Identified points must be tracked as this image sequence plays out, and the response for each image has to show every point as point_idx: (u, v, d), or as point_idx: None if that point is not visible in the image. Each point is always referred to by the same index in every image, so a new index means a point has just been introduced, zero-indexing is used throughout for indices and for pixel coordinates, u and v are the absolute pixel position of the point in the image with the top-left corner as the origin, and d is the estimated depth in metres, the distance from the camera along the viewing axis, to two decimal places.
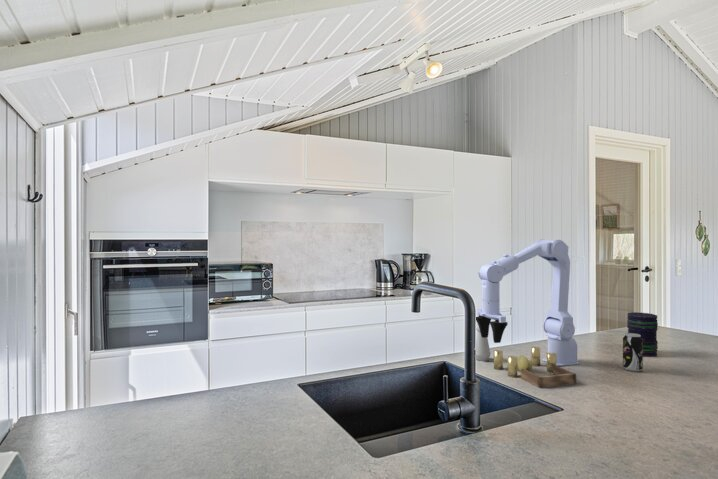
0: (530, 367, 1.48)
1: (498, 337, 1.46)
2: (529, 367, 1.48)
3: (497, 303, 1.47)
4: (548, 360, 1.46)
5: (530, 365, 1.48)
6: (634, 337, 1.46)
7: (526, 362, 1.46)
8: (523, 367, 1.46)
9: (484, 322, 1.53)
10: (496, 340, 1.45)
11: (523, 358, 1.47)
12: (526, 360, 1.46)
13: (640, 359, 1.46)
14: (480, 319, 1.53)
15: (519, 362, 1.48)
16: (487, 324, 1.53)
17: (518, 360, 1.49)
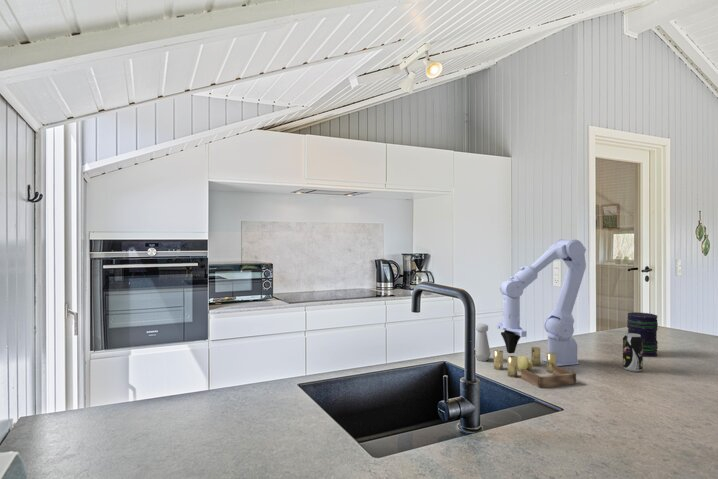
0: (530, 367, 1.48)
1: (513, 347, 1.55)
2: (529, 367, 1.48)
3: (517, 318, 1.53)
4: (548, 360, 1.46)
5: (530, 365, 1.48)
6: (634, 337, 1.46)
7: (526, 362, 1.46)
8: (523, 367, 1.46)
9: None
10: (510, 351, 1.55)
11: (523, 358, 1.47)
12: (526, 360, 1.46)
13: (640, 359, 1.46)
14: None
15: (519, 362, 1.48)
16: None
17: (518, 360, 1.49)
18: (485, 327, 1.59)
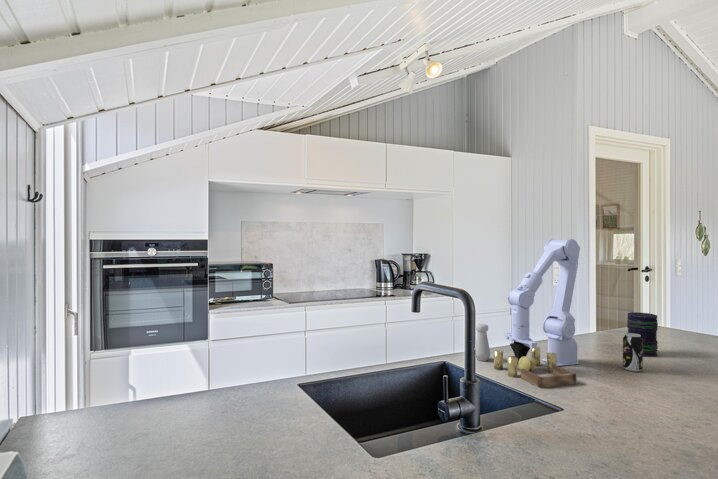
0: (532, 368, 1.47)
1: None
2: (531, 368, 1.47)
3: (527, 328, 1.48)
4: (548, 360, 1.46)
5: (532, 366, 1.47)
6: (634, 337, 1.46)
7: (529, 363, 1.45)
8: (526, 368, 1.45)
9: None
10: None
11: (525, 359, 1.46)
12: (529, 361, 1.45)
13: (640, 359, 1.46)
14: None
15: (521, 362, 1.47)
16: None
17: (520, 361, 1.47)
18: (485, 327, 1.59)
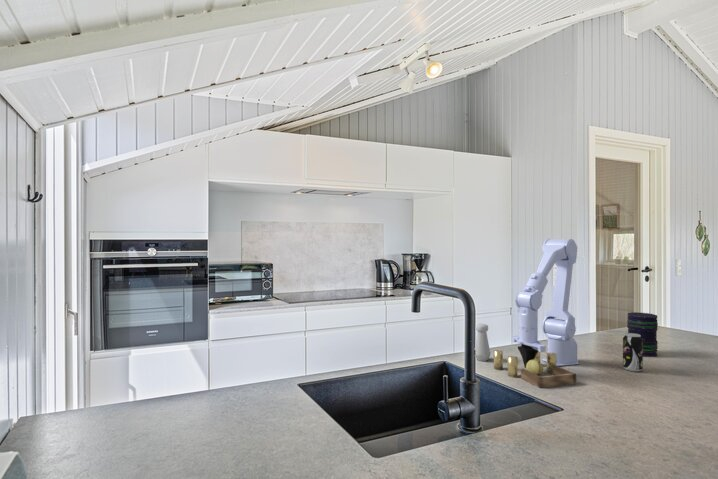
0: (541, 371, 1.43)
1: None
2: (540, 371, 1.43)
3: (535, 331, 1.44)
4: (548, 360, 1.46)
5: (541, 369, 1.43)
6: (634, 337, 1.46)
7: (537, 366, 1.41)
8: (534, 372, 1.41)
9: None
10: None
11: (534, 362, 1.42)
12: (537, 364, 1.41)
13: (640, 359, 1.46)
14: None
15: (529, 366, 1.43)
16: None
17: (528, 364, 1.43)
18: (485, 327, 1.59)
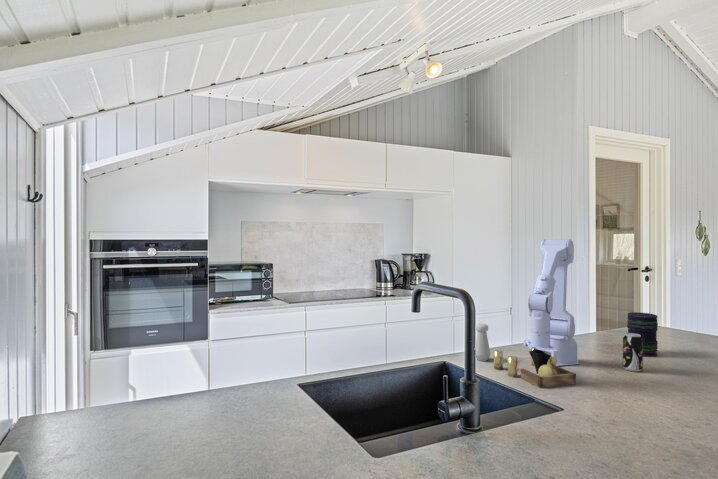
0: None
1: None
2: None
3: (548, 335, 1.38)
4: (548, 360, 1.46)
5: None
6: (634, 337, 1.46)
7: (550, 372, 1.35)
8: None
9: None
10: None
11: (546, 368, 1.36)
12: (550, 370, 1.36)
13: (640, 359, 1.46)
14: None
15: (542, 371, 1.37)
16: None
17: (541, 370, 1.38)
18: (485, 327, 1.59)
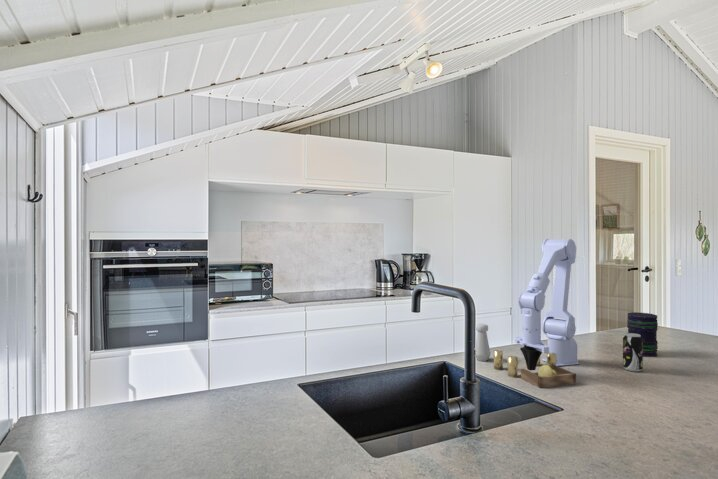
0: None
1: (533, 364, 1.44)
2: None
3: (539, 332, 1.43)
4: (548, 360, 1.46)
5: None
6: (634, 337, 1.46)
7: (550, 372, 1.35)
8: None
9: None
10: (531, 368, 1.44)
11: (547, 368, 1.37)
12: (550, 370, 1.36)
13: (640, 359, 1.46)
14: None
15: (542, 372, 1.37)
16: None
17: (541, 370, 1.38)
18: (485, 327, 1.59)
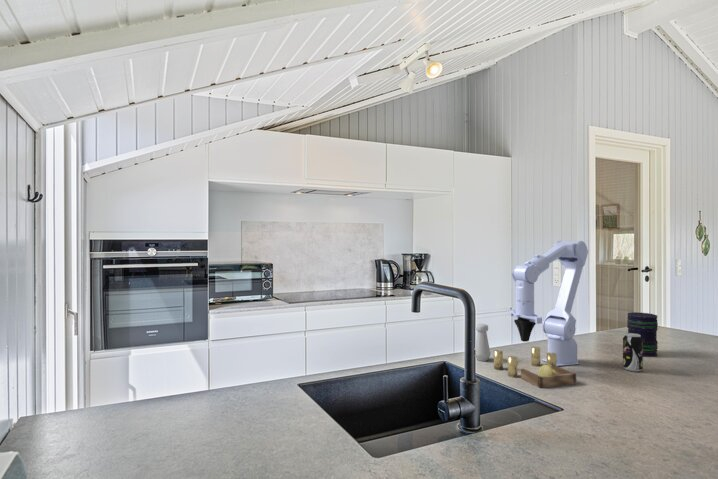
0: None
1: (527, 335, 1.48)
2: None
3: (532, 304, 1.46)
4: (548, 360, 1.46)
5: None
6: (634, 337, 1.46)
7: (550, 372, 1.35)
8: None
9: None
10: (524, 339, 1.47)
11: (547, 368, 1.37)
12: (550, 370, 1.36)
13: (640, 359, 1.46)
14: None
15: (542, 372, 1.37)
16: None
17: (541, 370, 1.38)
18: (485, 327, 1.59)
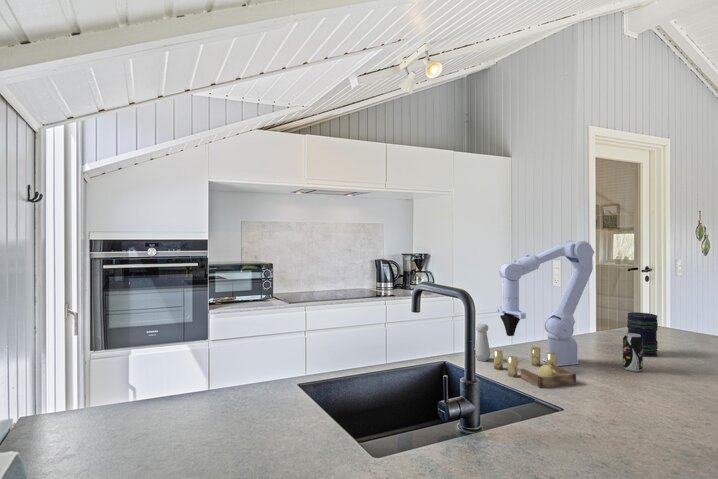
0: None
1: (512, 330, 1.55)
2: None
3: (517, 300, 1.54)
4: (548, 360, 1.46)
5: None
6: (634, 337, 1.46)
7: (550, 372, 1.35)
8: None
9: None
10: (510, 333, 1.55)
11: (547, 368, 1.37)
12: (550, 370, 1.36)
13: (640, 359, 1.46)
14: None
15: (542, 372, 1.37)
16: None
17: (541, 370, 1.38)
18: (485, 327, 1.59)
